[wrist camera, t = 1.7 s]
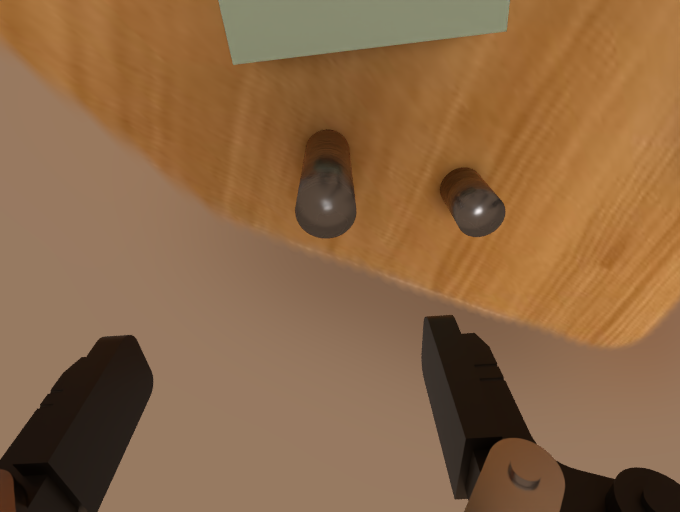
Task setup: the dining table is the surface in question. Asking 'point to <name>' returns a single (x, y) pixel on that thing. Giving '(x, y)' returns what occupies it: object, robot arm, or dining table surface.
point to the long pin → (326, 186)
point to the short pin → (472, 202)
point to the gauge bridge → (350, 24)
